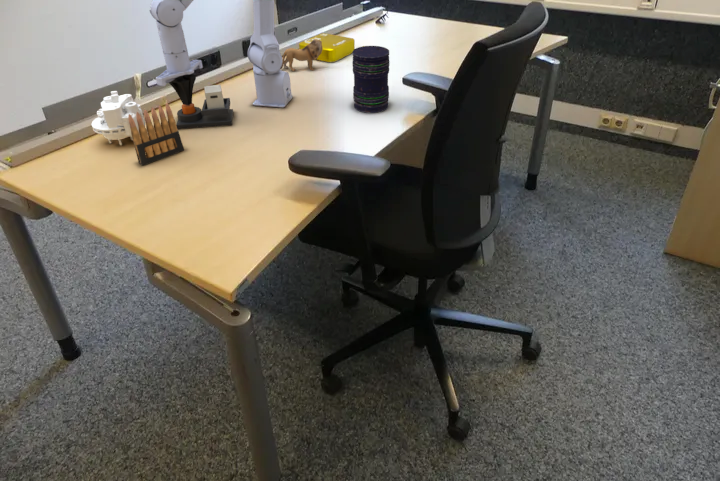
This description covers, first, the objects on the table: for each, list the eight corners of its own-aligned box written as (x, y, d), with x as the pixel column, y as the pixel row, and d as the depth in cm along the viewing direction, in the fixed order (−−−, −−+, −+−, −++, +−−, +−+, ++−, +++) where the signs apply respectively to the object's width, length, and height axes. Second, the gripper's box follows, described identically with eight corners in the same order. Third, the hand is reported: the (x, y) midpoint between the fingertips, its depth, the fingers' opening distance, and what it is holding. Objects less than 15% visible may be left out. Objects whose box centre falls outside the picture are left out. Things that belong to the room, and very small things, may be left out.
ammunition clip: (180, 147, 125) (168, 100, 118) (184, 150, 124) (172, 102, 117) (138, 162, 119) (123, 114, 112) (142, 165, 118) (126, 116, 111)
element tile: (332, 63, 172) (331, 48, 169) (297, 56, 178) (296, 42, 175) (357, 51, 182) (356, 37, 179) (322, 44, 188) (322, 31, 185)
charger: (224, 104, 138) (220, 84, 134) (225, 111, 134) (221, 91, 131) (208, 106, 137) (204, 86, 134) (208, 113, 133) (204, 93, 130)
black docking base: (233, 112, 141) (231, 102, 139) (231, 125, 135) (229, 114, 133) (181, 116, 140) (178, 106, 138) (177, 129, 133) (174, 118, 131)
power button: (196, 109, 137) (194, 102, 135) (195, 114, 134) (193, 107, 133) (184, 110, 136) (182, 103, 135) (182, 115, 134) (180, 108, 132)
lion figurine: (322, 64, 171) (320, 36, 166) (324, 69, 167) (323, 41, 162) (278, 68, 169) (275, 40, 163) (279, 73, 165) (276, 45, 159)
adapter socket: (230, 103, 139) (229, 97, 138) (228, 114, 133) (227, 108, 132) (205, 104, 138) (204, 99, 137) (202, 116, 132) (201, 110, 131)
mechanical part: (109, 130, 133) (94, 86, 126) (155, 130, 133) (142, 85, 126) (90, 150, 124) (72, 104, 117) (139, 150, 124) (124, 104, 117)
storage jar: (372, 116, 138) (372, 60, 129) (346, 106, 143) (344, 52, 134) (396, 104, 143) (397, 50, 134) (369, 96, 149) (369, 43, 140)
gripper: (166, 61, 119) (180, 116, 127) (207, 44, 129) (217, 96, 137) (143, 57, 121) (158, 112, 130) (185, 40, 132) (196, 92, 140)
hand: (187, 103), depth 134 cm, fingers closed
